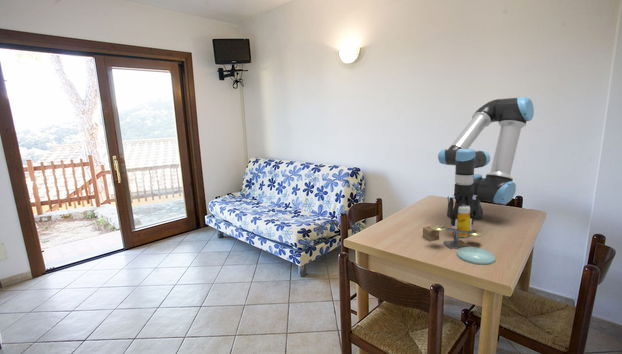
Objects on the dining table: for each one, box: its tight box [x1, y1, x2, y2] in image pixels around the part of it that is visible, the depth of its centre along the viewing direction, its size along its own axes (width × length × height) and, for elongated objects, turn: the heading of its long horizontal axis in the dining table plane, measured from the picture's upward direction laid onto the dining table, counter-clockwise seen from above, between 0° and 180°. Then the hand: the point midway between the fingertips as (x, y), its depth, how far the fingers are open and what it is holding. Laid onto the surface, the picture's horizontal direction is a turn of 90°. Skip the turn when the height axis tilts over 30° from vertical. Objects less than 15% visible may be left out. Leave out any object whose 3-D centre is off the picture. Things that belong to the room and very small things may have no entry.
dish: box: [456, 246, 496, 265], centre depth 115 cm, size 13×13×1 cm
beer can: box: [456, 203, 470, 239], centre depth 135 cm, size 6×6×15 cm
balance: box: [430, 224, 484, 250], centre depth 126 cm, size 22×7×9 cm, turn 92°
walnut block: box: [422, 225, 440, 242], centre depth 134 cm, size 5×5×5 cm
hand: (461, 231), depth 136 cm, fingers closed on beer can, 6 cm apart
